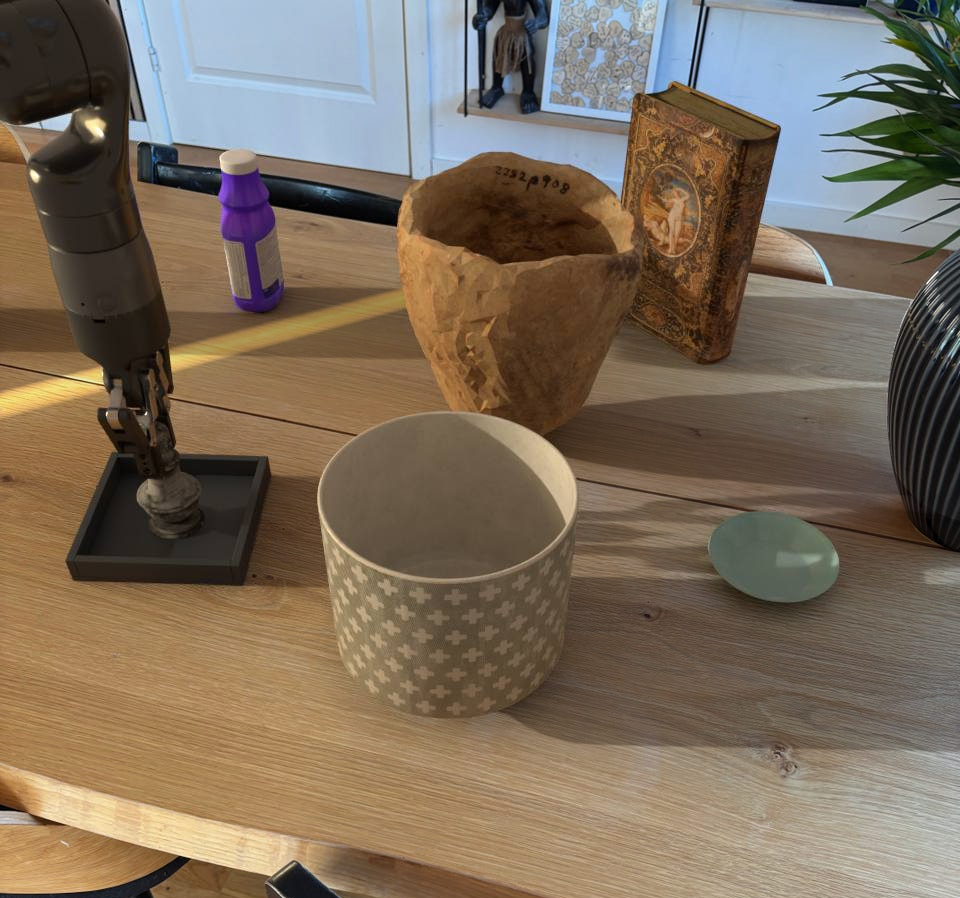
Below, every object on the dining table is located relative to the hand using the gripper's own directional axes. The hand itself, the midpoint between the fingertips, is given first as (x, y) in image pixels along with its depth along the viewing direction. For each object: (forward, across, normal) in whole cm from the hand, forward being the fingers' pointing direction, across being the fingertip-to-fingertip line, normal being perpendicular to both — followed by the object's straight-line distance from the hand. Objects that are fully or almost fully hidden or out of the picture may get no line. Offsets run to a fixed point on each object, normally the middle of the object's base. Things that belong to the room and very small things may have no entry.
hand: (158, 461), depth 92 cm
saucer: (+8, +4, +56) cm, 57 cm away
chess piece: (+7, 0, 0) cm, 7 cm away
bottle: (+8, -41, +1) cm, 42 cm away
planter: (+8, +15, +27) cm, 32 cm away
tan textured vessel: (+8, -16, +32) cm, 37 cm away
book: (+8, -37, +51) cm, 64 cm away
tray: (+8, 0, 0) cm, 8 cm away
